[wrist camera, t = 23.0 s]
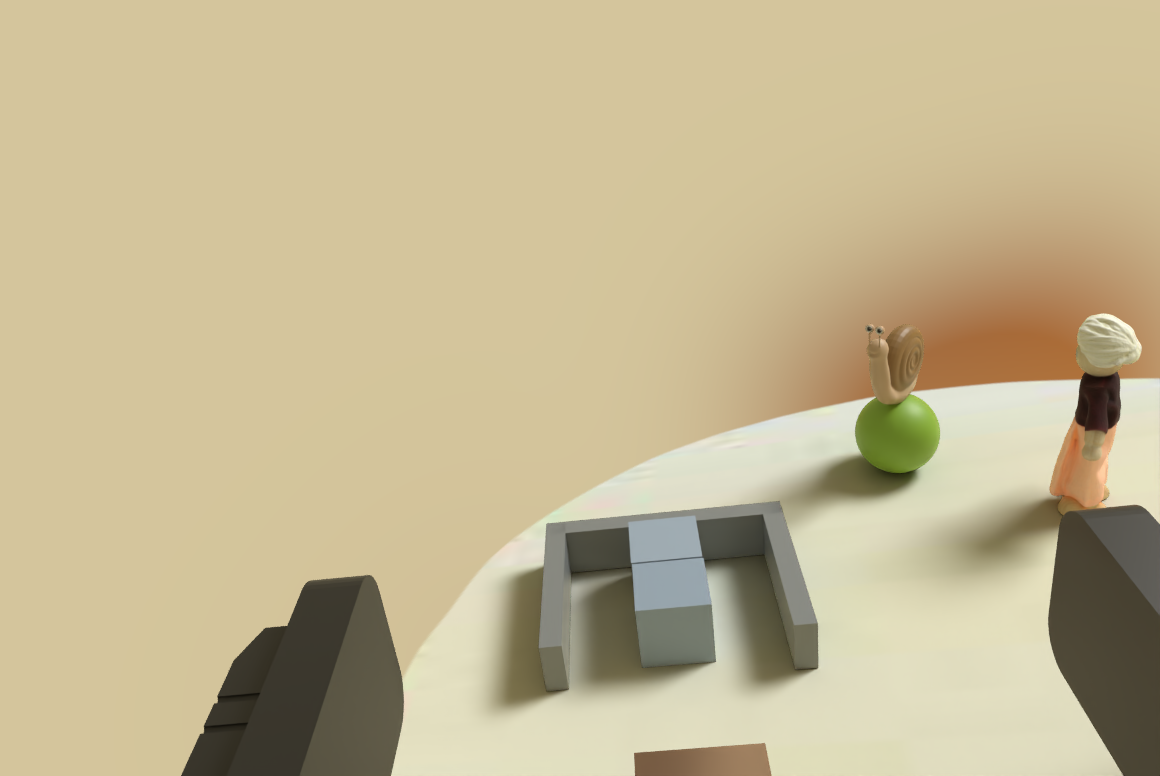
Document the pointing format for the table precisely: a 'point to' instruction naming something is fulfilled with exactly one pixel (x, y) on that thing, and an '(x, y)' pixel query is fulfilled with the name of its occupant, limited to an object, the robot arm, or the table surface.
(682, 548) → the block
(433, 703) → the table surface
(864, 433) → the snail figurine
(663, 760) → the tall wooden pillar
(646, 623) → the block
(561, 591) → the grey u-shaped wall
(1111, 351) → the grandmother figurine
